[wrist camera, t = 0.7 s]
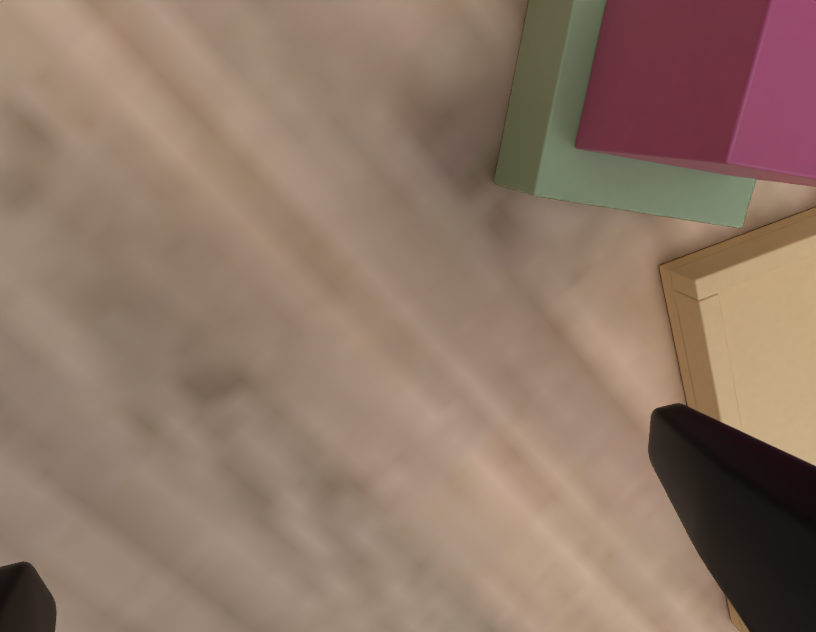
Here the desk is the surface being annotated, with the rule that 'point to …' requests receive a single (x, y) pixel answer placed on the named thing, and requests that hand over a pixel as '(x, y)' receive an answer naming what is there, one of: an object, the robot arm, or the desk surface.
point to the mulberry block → (707, 87)
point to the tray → (751, 334)
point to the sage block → (559, 122)
